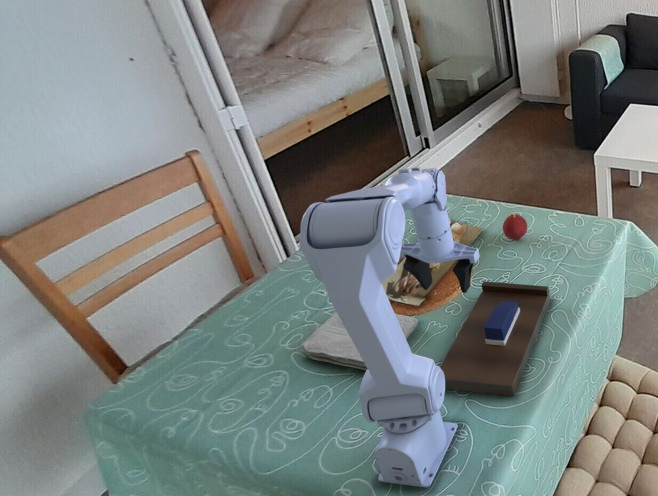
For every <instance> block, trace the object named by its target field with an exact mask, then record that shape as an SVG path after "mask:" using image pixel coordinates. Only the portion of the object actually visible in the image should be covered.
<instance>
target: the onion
mask: <svg viewBox="0 0 658 496" xmlns="http://www.w3.org/2000/svg"><path fill="white" fill-rule="evenodd" d="M502 232H503V234H504V236H505V237H506V238H507V239H509V240H512V241H519V240H520V239H522V238H523V237H524V236H525V235H526V234H527V232H528V223H527V221H526V219H525V218H524V217H523V216H522V215H520V214H518V213H515V212H512V213H511V214H509V215H508V216H507V217H506V218H505V219H504V221H503V224H502Z"/></svg>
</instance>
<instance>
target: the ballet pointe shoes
mask: <svg viewBox="0 0 658 496" xmlns="http://www.w3.org/2000/svg"><path fill="white" fill-rule="evenodd" d="M449 223H450V228H451V232H452V237H453V241H455V242H458V243H460V244H463V245H466V246H468V247H471V245H472V244H473V242H474V241H475V240H476V239H478V238H479V236H480V235H481V233H482V232H483V231H484V230H485V228H484V227H479V226H476V225H471V224H467V223H462V224H460V223H459V222H457V221H453V222H452V221H451V219H449ZM405 261H406V258H402V261H400V262H399V264H397V270H396V272H395V273H394V274H392V275H391V276H389V277H388V278H387V279H385V280H384V281H382V283H381V284H382V286H383V288H384V290H385V293H386V295H387V297H388V299H389V301H393V302H399V303H403V304H408V305H412V306H421V304H422V303H423V302H424V301H426V299H427V298H426V296H427V294H429V292H430V291H431V290H432V289H433V288H434V286H435V285H437V283H438V282H439V281H440V280H441V279H442V277H444V276H445V273H447V272H448V271H449V270H450V269H451V268H452V267H453V265H454V264H455V263H456V262H457V260H453V261H447V262H440V263H429V266H430V271H431V275H432V284H431V285H430V287H429V288H428V290H424V289H423V287H422V286H421V284H420V283H419V282H418V280H417V279H416V278H415V277H414V276H413V275H412V274H411V273H410V272H408V271H407V270H405V269H404V267H403V264H404V263H405Z"/></svg>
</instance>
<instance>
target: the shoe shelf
mask: <svg viewBox="0 0 658 496" xmlns="http://www.w3.org/2000/svg"><path fill="white" fill-rule="evenodd" d="M480 286H481V290H482V291H481V293H480V295H479V296H478V298H477V299H476V301H475V303H474V305H473V307H472V309H471V310H470V311H469V314H468V316H467V318H466V320H465V321H464V323H463V324H462V326H461V328H460V329H459V332H458V333H457V335H456V337H455V339H454V341H453V342H452V344H451V346H450V348H449V349H448V351H447V353H446V355H445V357H444V358H443V361H442V362H441V363H440V365H439V367H440V368H441V370H442V371H443V373H444V376H445V390H451V391H452V390H453V391H461V392H462V391H463V392H471V393H481V394H489V395H490V394H492V395H501V396H510V397H514V396H515V394H516V392H517V390H518V387H519V384H520V381H521V379H522V376H523V374H524V371H525V369H526V366H527V364H528V361H529V358H530V355H531V353H532V350H533V347H534V345H535V342H536V340H537V337H538V335H539V332H540V329H541V327H542V324H543V322H544V319H545V316H546V314H547V311H548V308H549V306H550V304H551V294H550V287H549V286H546V285H545V286H544V285H535V284H521V283H508V282H495V281H482V283H481V285H480ZM501 301H509V302H517V304H518V308H520V313H519V315H518V317H517V319H516V322H515V324H514V326H513V328H512V331H511V333H510V335H509V337H508V340H507V342H506V344H505V346H502V345H492V344H486V341H485V340H486V335H485V331H484V326H485V324H486V322H487V320H488V318H489V316H490V314H491V313H492V311H493V309H494V307H495V306H498V307H499V305H500V303H501Z"/></svg>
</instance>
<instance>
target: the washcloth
mask: <svg viewBox="0 0 658 496" xmlns="http://www.w3.org/2000/svg"><path fill="white" fill-rule="evenodd" d="M395 315H396V318H397V320H398V322H399V324H400V327H401V329H402V331H403V333H404V336H405V338H406V340H407V341H408V338H410V336H411V334H412V333H413V332H414V330H415V329H416V328H417V327H418V325H419V320H418V318H415V317H414V316H410V315H404V314H398V313H395ZM300 347H301V349H300V353H301V354H303V355H306V356H307V357H308V358H310V359H311V360H315V361H319V362H327V363H330V364H334V365H338V366H342V367H349V368H354V369H359V370H364V371H366V370H367V367H366V365H365V363H364V361H363V359H362V358H361V356H360V354H359V352H358V350H357V348H356V347H355V345H354V343H353V341H352V339H351V337H350V336H349V334H348V332H347V330H346V328H345V326H344V325H343V323H342V321H341V319H340V317H339V315H338V314H337V312H336V310H335V309H334V312H333V314H331V315H330V317H329V318H328V319H326V321H324V323H322V324H321V325H320V326H319V327H318V328H317V329H316V330H314V332H312V333H311V335H309V336H308V337H307V338H306V339H305V341H304V342H302V343H301V344H300Z"/></svg>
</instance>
